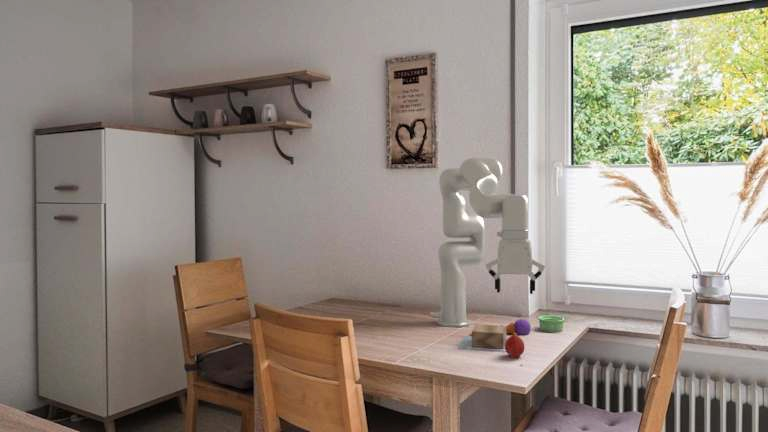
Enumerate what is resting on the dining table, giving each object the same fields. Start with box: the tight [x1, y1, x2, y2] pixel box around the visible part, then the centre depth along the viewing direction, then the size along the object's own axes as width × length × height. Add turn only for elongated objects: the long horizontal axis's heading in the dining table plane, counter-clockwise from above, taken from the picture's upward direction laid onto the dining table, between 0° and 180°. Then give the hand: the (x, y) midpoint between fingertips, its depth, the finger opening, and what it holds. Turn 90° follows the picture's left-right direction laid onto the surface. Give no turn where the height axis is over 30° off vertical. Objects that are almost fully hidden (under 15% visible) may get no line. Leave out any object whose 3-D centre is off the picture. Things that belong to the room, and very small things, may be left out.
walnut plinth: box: [471, 324, 507, 349], centre depth 189 cm, size 10×10×5 cm
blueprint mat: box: [457, 336, 508, 353], centre depth 189 cm, size 18×16×1 cm
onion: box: [505, 333, 525, 358], centre depth 175 cm, size 6×6×8 cm
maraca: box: [506, 318, 532, 336], centre depth 202 cm, size 6×6×20 cm
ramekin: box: [538, 315, 565, 333], centre depth 211 cm, size 9×9×4 cm
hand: (514, 292), depth 174 cm, fingers open, 9 cm apart
